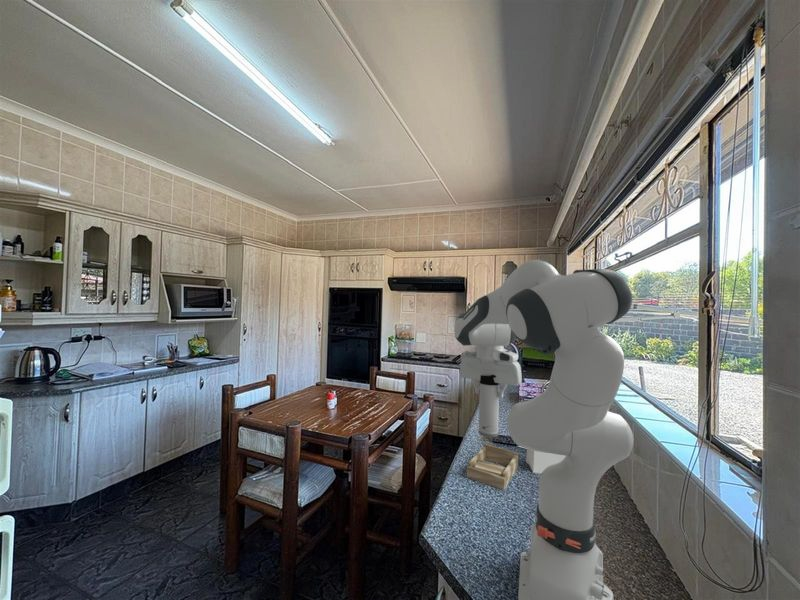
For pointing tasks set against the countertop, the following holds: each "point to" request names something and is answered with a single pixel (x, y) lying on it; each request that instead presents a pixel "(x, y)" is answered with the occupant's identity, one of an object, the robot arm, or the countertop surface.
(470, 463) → the birch rack
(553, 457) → the milk
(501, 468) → the offcut top
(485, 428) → the travel mug
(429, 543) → the countertop surface
